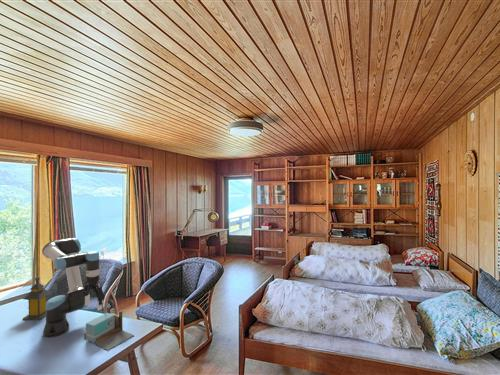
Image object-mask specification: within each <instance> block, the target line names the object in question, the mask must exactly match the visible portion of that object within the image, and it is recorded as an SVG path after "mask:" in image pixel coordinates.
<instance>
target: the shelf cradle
mask: <svg viewBox="0 0 500 375" xmlns="http://www.w3.org/2000/svg"><path fill="white" fill-rule="evenodd" d="M106 313H109V314H113V315H115V329H114V330H112V331H110V332H108V333H106V334H105V335H103V336H101V337H99V338H97V339H96V342H95V343H96V344H98V343H100V342H102V341H103V340H105V339H107V338H109V337H111V336H113V335H115V334H117V333H118V332H120V331H122V330H123V310H119V311H118V314H116V313H114V312H111V306H108V305H107V307H106ZM123 331H124V330H123ZM83 337H84V339H86V331H85V332H84V334H83Z"/></svg>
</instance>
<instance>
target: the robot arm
mask: <svg viewBox="0 0 500 375" xmlns="http://www.w3.org/2000/svg"><path fill="white" fill-rule="evenodd" d="M81 247H82V245H81V242H80V240H79V239H78V238H77V237H69V238H63V239H62V238H61V239H55V240H52V241H49V242H48V243H46V244H45V245H44V246H43V248H42V249H41V250H42V251H41V252H42V253H41V254H42V255H43V256H44V257H45V258H46V259H50V260H51V261H53V266H54V269H55V270H57V271H58V270H64V269H65V273H66V278H67V285H68V292H67V296H66V295H65V294H61V295H56V296H54V297H51V298H49V299H48V300H47V302H46V308H45V310H46V317H45V325H44V327H43V330H42V335H43V337H45V338H52V337H53V338H54V337H58V336H60V335H64V334H65V333H67V332H68V331H69V329H70V323H69V321H68V318H67V314H70V313H74V312H76V311H77V312H78V311H80V310H83V309H85V308H87V307H89V306H90V305H91V304H90V303H91V302H90V301H91V294H90V293H91V291H93V292H94V294H95V296H96V299H97V301H96V302H97V309H96V310H97V311H100V310H102V309H103V300H105V295H104V291H103V289H102V283H99V281H100V253H99V251H95V250H93V251H82V252H81V250H82V248H81ZM84 265H85V268H86V269H85V270H86V280H85V281H84V287H83V282H82V277H81V270H80V266H84Z"/></svg>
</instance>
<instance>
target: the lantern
mask: <svg viewBox="0 0 500 375" xmlns="http://www.w3.org/2000/svg"><path fill="white" fill-rule="evenodd" d="M34 280H35V284H34V285H33V286H32V287H31V288H30V292H29V293H28V294H27V295H26V296H25V297H23V298H22V299H23V300H28V301H27V302H28V314H27V315H25V316H24V317H23V318H22V321H41V320H43V319H44V318H46V310H45V308H46V302H47V301H48V300H47V298H48V297H47V296H48V295H50V294H52V291H49V290H48V289H46V288H44V287H45V285H44V284H42V283H39V281H40V277H39V276H36V277H35V278H34Z"/></svg>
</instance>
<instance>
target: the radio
mask: <svg viewBox="0 0 500 375" xmlns="http://www.w3.org/2000/svg"><path fill="white" fill-rule="evenodd" d="M107 307H108V303H107V302H106V303H105V308H107ZM114 329H115V315H113V314H109V313H107V310H105V313H104V314H102V315H100V316H98V317H96V318H94V319H92V320H89V321H88V322H86V323H85V332H86V338H85V340H87V341H89V342H92V343H96V339H97V338H99V337H101V336H103V335H105V334H106V333H108V332H110V331H112V330H114Z"/></svg>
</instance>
